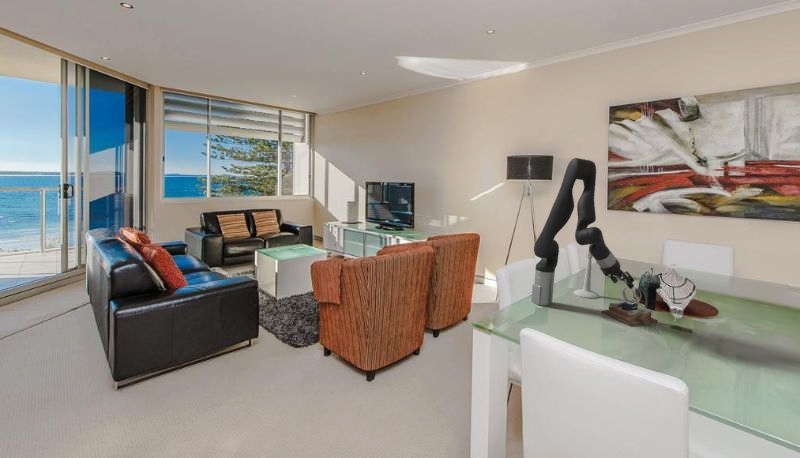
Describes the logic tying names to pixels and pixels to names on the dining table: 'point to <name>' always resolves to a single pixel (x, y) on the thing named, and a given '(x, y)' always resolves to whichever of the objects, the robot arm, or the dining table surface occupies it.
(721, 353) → the dining table surface
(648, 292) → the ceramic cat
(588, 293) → the candlestick
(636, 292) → the watch
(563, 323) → the dining table surface
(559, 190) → the robot arm
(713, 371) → the dining table surface
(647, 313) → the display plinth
